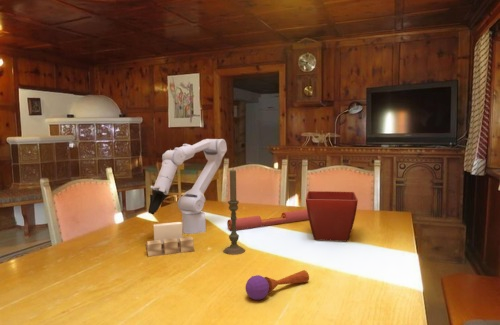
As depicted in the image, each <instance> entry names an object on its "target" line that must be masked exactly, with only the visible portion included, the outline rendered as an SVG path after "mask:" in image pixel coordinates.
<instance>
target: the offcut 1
mask: <svg viewBox="0 0 500 325" xmlns="http://www.w3.org/2000/svg"><path fill="white" fill-rule="evenodd" d="M153 240H154V239H153ZM153 240H147V241H146V243H147V249H148V256H151V257H155V256H154V255H160V256H163V255H162V251H161V241H160V240H154V241H153Z"/></svg>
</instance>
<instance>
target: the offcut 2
mask: <svg viewBox="0 0 500 325" xmlns="http://www.w3.org/2000/svg"><path fill="white" fill-rule="evenodd" d="M179 246H180V251H181V252H185V253H189V252H188V251H194V252H195V247H194V246H195V244H194V238H193V237H192V236H183V238H179Z"/></svg>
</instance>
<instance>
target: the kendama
mask: <svg viewBox="0 0 500 325" xmlns="http://www.w3.org/2000/svg"><path fill="white" fill-rule="evenodd" d="M309 280H310V274H309V272H308V271H307V270H301V271H300V270H299V271H298V272H296V273H293V274H290V275H288V276H285V277H283V278H280V279H277V280H276V279H274V278H271V277H268V276H265V277H264V276H262V275H259V274H257V275H253V276H250V278H249V279H248V280H247V281H246V284H245V292H246V294H247V295H248V297H249V299H250V298H251V299H252V300H255V301H260V300H263V299H264V298H265V297H266V296H267V295H268V294H271V293H272V292H273V291H274V290H275V289H276V288H277V287H278V286H279V285H290V284H300V283H301V284H302V283H308V282H309Z"/></svg>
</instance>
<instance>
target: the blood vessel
mask: <svg viewBox="0 0 500 325" xmlns="http://www.w3.org/2000/svg"><path fill="white" fill-rule="evenodd" d="M231 221H232V220H231V218H230V219H227V223H226V224H227V229H228V231H230V232H232V227H231V226H232V222H231ZM304 221H309V217H308V212H307V209H301V210H294V211H285V212H282V213H281V216H279V217H273V218H264V219H262V218H261V216H259V215H254V216H247V217H246V216H245V217H237V219H236V231H241V230H247V229H255V228H262V227H269V226H276V225H281V224H289V223H290V224H291V223H296V222H297V223H298V222H304Z"/></svg>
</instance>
